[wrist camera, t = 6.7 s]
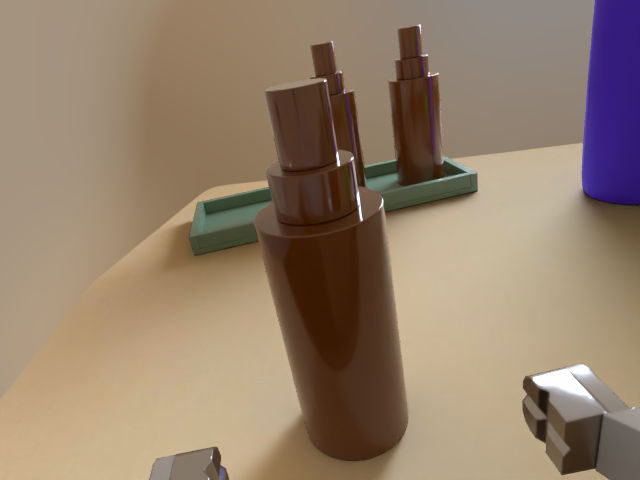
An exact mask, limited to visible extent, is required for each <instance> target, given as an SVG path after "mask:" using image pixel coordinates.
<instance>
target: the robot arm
mask: <svg viewBox="0 0 640 480" xmlns="http://www.w3.org/2000/svg"><path fill="white" fill-rule="evenodd" d="M523 389H524V390H525V391H526V393H527V395H526V397H525V398H524V399H523V401H522V402H523V414H524V417H525V421H526V423H527V425H528V427H529V429H530V431H531V432H532V434H533V435H534V436H535V438H537V439H539V440H540V441H542V442H544V443H546V454H547V455H548V456H549V458H550V459H551V461H552V462H553V463H554V465H555V466H556V468H557V469H558V471H559V472H560V473H561V475H565V474H570V473H575V472H580V471H585V470H590V469H595V468H596V471H598V472H599V473H601V474H602V475H604V476H605V477H607V478H608V479H610V480H640V409H639V408H636V407H633V408H629V407H628V406H627V405H626V404H625V403H624V402H623V401H622V400H621V399H620V398H619V397H618V396H617V395H616V394H615V393H614V392H612V391H611V390H610V389H609V388H608V387H607V386H606V385H605V384H604V383H603V382H602V381H601V380H600V379H599V378H598V377H597V376H596V375H595V374H594V373H593V372H592V371H591V370H590V369H589V368H588V367H587V366H585V365H583V364H577V365H572V366H568V367H564V368H559V369H555V370H550V371H546V372H542V373H538V374H534V375H529V376H525V378H524V380H523ZM220 462H221V455H220V452H219V450H218V448H217V447H211V448H206V449H201V450H196V451H191V452H185V453H180V454H177V455H172V456H167V457H162V458H157V459H156V461H155V462H154V464H153V467H152V470H151V474H150V478H149V480H229V477H228V474H227V471H226V468H224V467H223V466H221V465H220Z"/></svg>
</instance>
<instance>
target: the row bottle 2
mask: <svg viewBox="0 0 640 480" xmlns="http://www.w3.org/2000/svg"><path fill="white" fill-rule="evenodd" d="M398 40H399V52H400V58H399V59H396V60H395V69H396V77H395V78H392V79H389V80H388V88H389V98H390V108H391V118H392V128H393V138H394V148H395V158H396V168H397V178H398V184H399V185H401V186H404V187H405V186H410V185H414V184H418V183H423V182H427V181H432V180H436V179H441V178H444V164H443V146H442V127H441V108H440V90H439V73H438V72H429V59H428V58H429V57H428V54H423V53H422V38H421V26H420V25H416V26H410V27H404V28H399V29H398Z"/></svg>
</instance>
